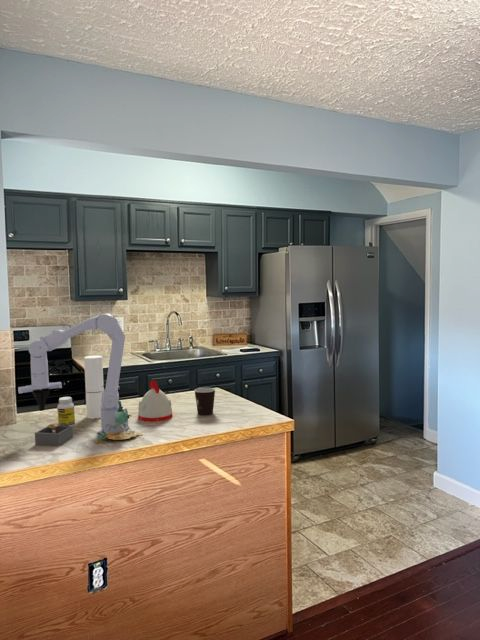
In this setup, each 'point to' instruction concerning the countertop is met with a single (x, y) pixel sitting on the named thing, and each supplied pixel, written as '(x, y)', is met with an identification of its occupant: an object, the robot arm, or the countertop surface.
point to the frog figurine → (120, 418)
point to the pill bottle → (66, 412)
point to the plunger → (53, 427)
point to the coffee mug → (205, 400)
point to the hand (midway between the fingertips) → (41, 410)
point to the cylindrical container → (93, 385)
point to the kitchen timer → (154, 405)
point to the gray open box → (53, 436)
